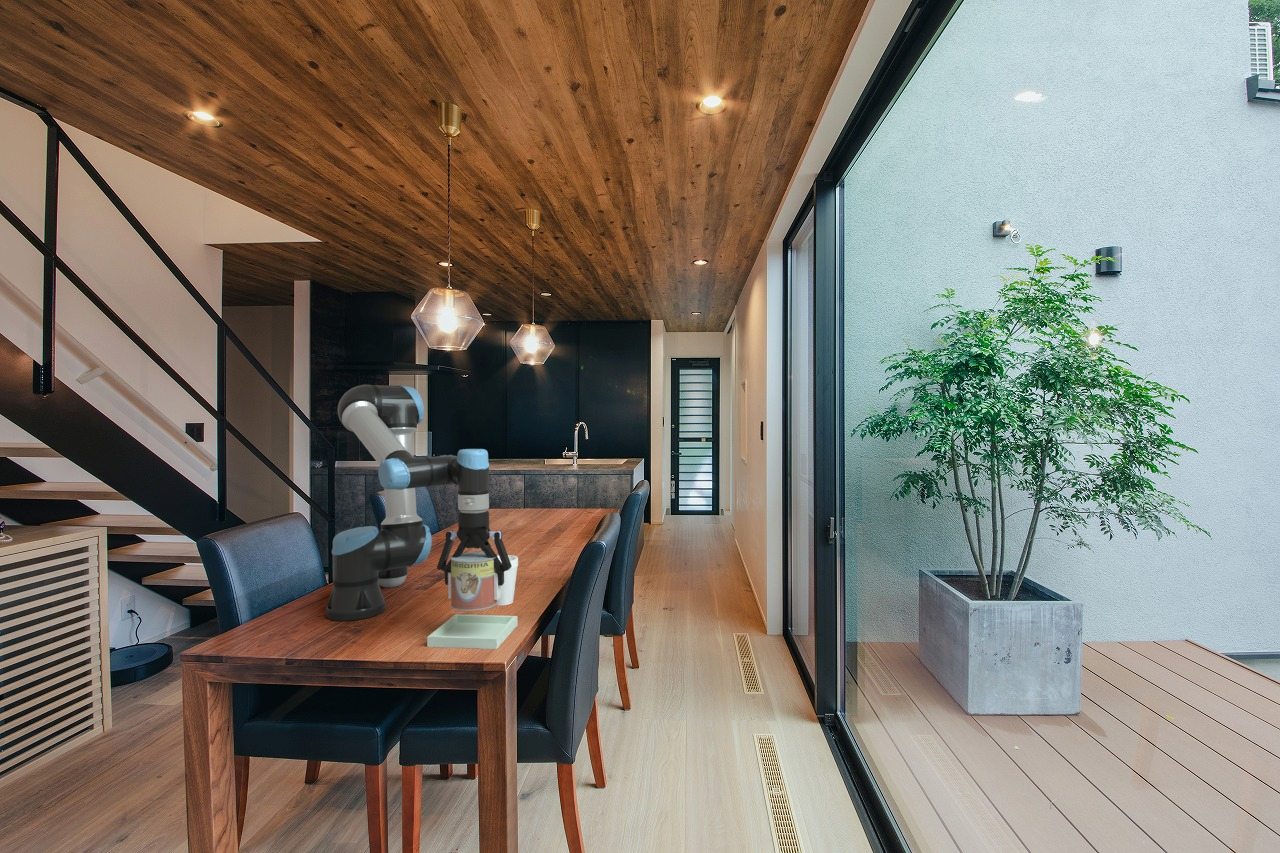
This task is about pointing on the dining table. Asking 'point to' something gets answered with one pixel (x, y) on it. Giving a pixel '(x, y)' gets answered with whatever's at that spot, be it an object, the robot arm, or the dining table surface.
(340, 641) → the dining table surface
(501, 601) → the foam cup
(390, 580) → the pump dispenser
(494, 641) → the tray
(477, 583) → the canned food
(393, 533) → the robot arm
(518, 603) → the dining table surface
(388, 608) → the dining table surface
